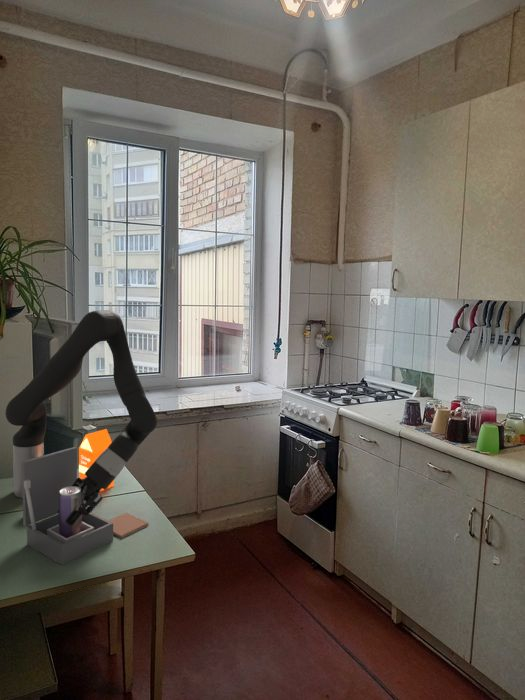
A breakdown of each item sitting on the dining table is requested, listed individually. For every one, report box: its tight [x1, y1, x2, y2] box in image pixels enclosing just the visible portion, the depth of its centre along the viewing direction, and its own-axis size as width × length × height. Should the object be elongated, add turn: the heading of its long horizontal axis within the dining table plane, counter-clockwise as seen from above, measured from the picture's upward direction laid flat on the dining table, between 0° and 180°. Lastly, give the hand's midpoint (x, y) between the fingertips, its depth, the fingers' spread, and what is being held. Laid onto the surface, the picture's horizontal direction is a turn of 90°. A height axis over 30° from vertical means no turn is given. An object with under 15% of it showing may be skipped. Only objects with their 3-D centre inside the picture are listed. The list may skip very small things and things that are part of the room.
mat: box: [107, 512, 149, 539], centre depth 149 cm, size 10×10×1 cm
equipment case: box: [22, 446, 114, 566], centre depth 138 cm, size 18×16×23 cm
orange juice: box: [78, 428, 115, 492], centre depth 174 cm, size 8×9×20 cm
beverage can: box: [58, 486, 82, 538], centre depth 138 cm, size 6×6×15 cm
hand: (64, 518), depth 137 cm, fingers closed on beverage can, 6 cm apart
